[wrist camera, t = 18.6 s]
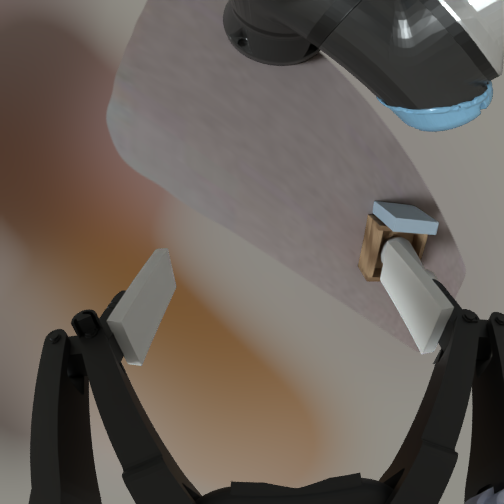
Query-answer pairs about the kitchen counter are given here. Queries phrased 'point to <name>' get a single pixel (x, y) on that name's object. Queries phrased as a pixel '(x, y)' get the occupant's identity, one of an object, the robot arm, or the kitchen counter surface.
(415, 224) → the pale blue lid slab
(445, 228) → the kitchen counter surface
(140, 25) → the kitchen counter surface
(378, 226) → the open wooden crate
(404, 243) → the salt shaker
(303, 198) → the kitchen counter surface
